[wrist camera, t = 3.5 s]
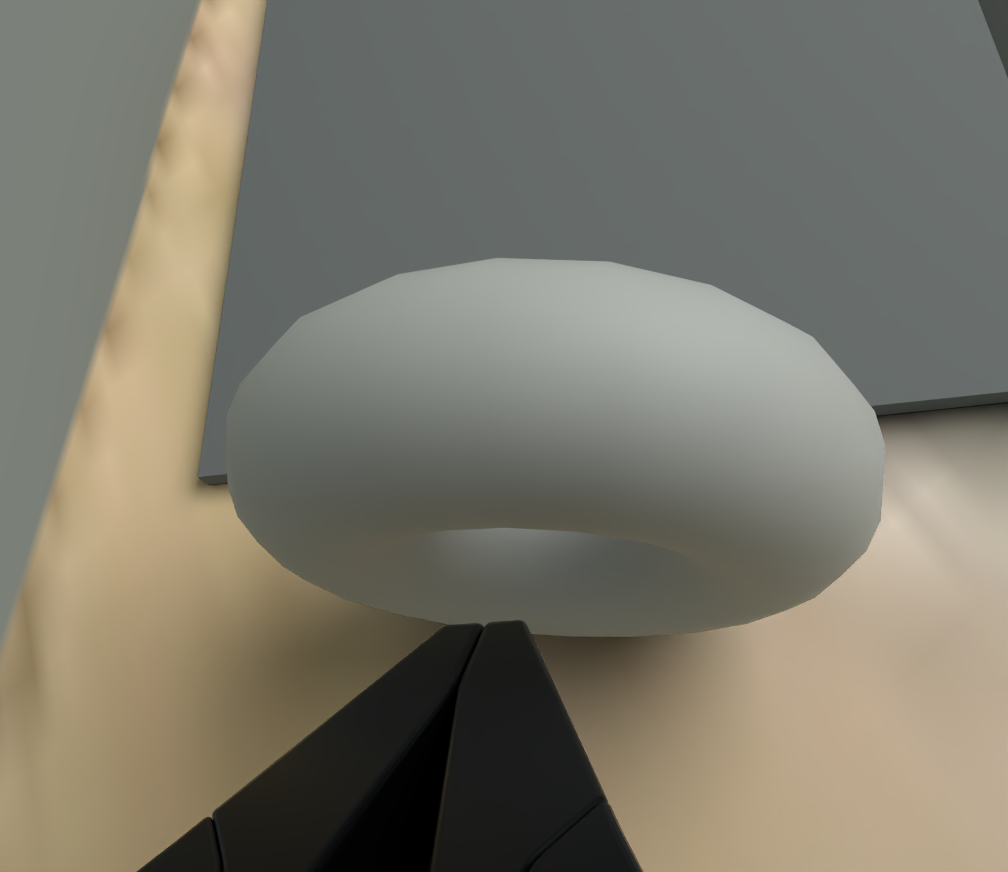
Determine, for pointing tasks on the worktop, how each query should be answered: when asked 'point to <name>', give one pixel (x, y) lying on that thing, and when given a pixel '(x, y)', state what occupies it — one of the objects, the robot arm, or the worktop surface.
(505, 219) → the mat
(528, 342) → the donut
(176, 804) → the worktop surface
